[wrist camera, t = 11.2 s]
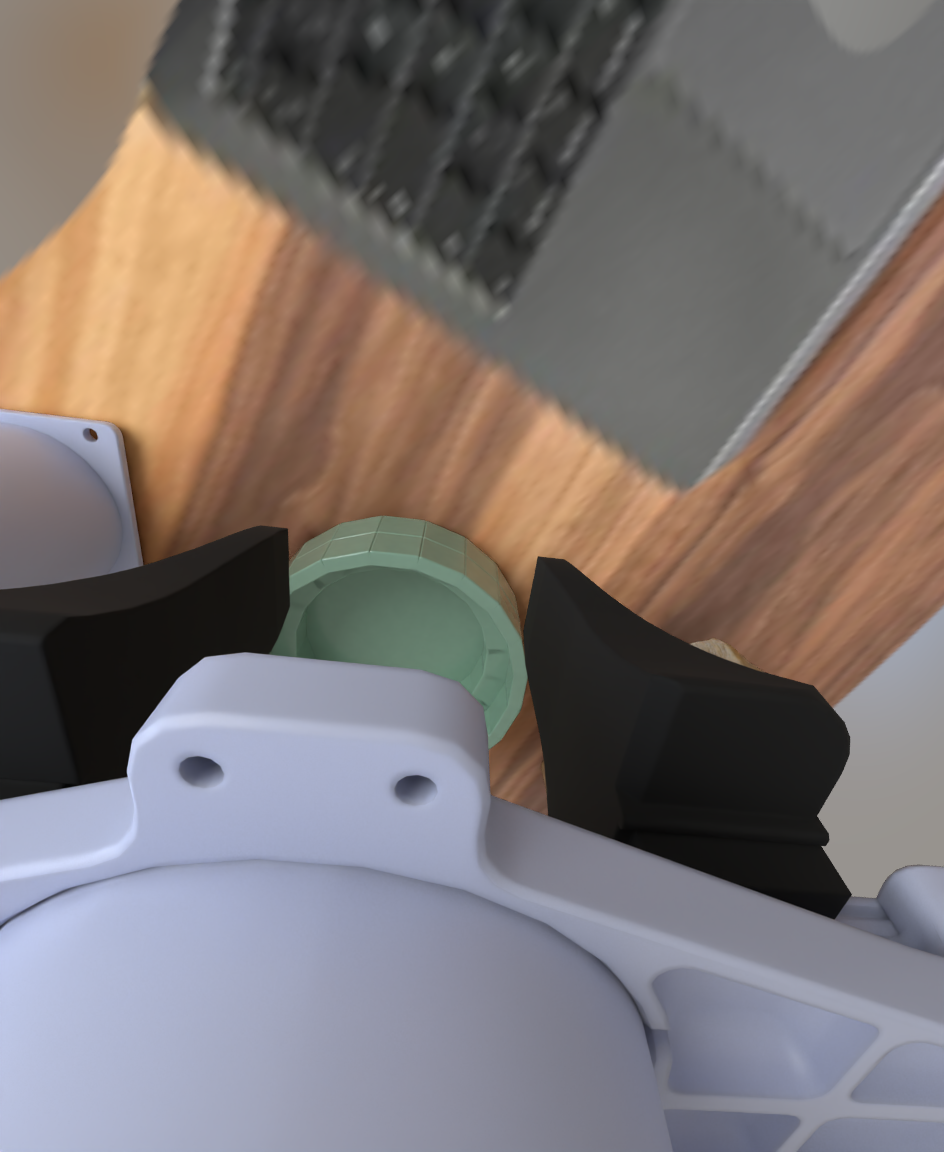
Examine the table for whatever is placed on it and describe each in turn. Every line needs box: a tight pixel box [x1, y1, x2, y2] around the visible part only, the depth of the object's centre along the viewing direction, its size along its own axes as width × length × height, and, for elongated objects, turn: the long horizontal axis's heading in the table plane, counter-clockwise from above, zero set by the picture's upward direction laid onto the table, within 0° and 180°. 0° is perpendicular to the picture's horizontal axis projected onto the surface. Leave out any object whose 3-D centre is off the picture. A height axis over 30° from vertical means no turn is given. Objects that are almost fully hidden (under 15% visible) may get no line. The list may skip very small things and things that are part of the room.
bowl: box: [269, 516, 528, 749], centre depth 24 cm, size 11×11×4 cm
